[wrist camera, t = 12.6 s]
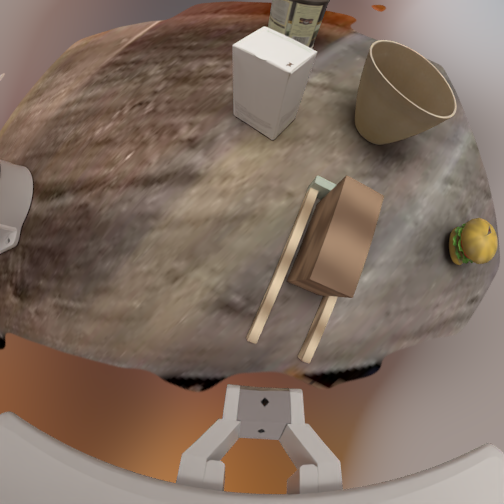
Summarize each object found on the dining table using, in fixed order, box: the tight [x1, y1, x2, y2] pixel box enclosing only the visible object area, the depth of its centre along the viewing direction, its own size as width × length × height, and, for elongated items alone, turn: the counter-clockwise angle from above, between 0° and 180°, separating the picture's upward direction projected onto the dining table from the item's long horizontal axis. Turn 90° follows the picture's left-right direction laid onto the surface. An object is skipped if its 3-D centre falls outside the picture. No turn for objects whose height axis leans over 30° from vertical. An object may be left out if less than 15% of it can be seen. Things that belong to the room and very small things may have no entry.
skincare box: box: [233, 26, 317, 140], centre depth 32 cm, size 8×7×16 cm
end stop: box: [307, 175, 336, 200], centre depth 36 cm, size 1×9×4 cm, turn 67°
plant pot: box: [355, 40, 456, 145], centre depth 33 cm, size 15×15×16 cm
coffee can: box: [268, 0, 330, 49], centre depth 36 cm, size 10×10×14 cm
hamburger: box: [449, 218, 497, 265], centre depth 34 cm, size 8×7×12 cm
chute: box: [246, 188, 337, 363], centre depth 36 cm, size 22×9×2 cm, turn 157°
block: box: [287, 176, 384, 298], centre depth 32 cm, size 12×5×11 cm, turn 157°
